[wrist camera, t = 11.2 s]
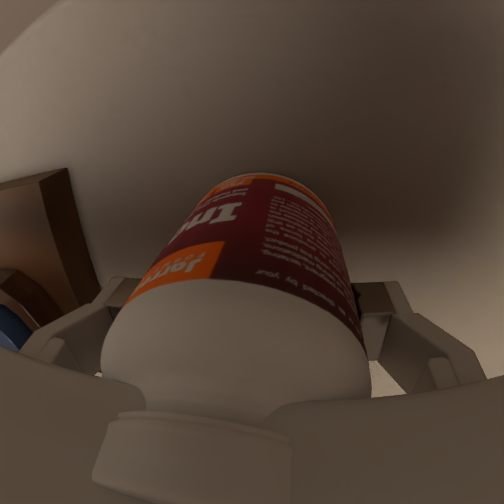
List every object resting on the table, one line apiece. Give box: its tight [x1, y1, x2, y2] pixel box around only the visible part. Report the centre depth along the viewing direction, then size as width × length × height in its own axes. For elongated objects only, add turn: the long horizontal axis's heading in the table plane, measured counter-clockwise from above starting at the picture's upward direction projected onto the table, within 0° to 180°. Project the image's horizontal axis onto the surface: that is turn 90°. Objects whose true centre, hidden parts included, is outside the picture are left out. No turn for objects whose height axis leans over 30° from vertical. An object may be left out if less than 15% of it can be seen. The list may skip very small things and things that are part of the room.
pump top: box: [0, 304, 33, 352], centre depth 13 cm, size 4×4×2 cm
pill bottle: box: [92, 172, 372, 504], centre depth 8 cm, size 6×6×11 cm
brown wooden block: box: [0, 168, 101, 373], centre depth 14 cm, size 12×10×4 cm
